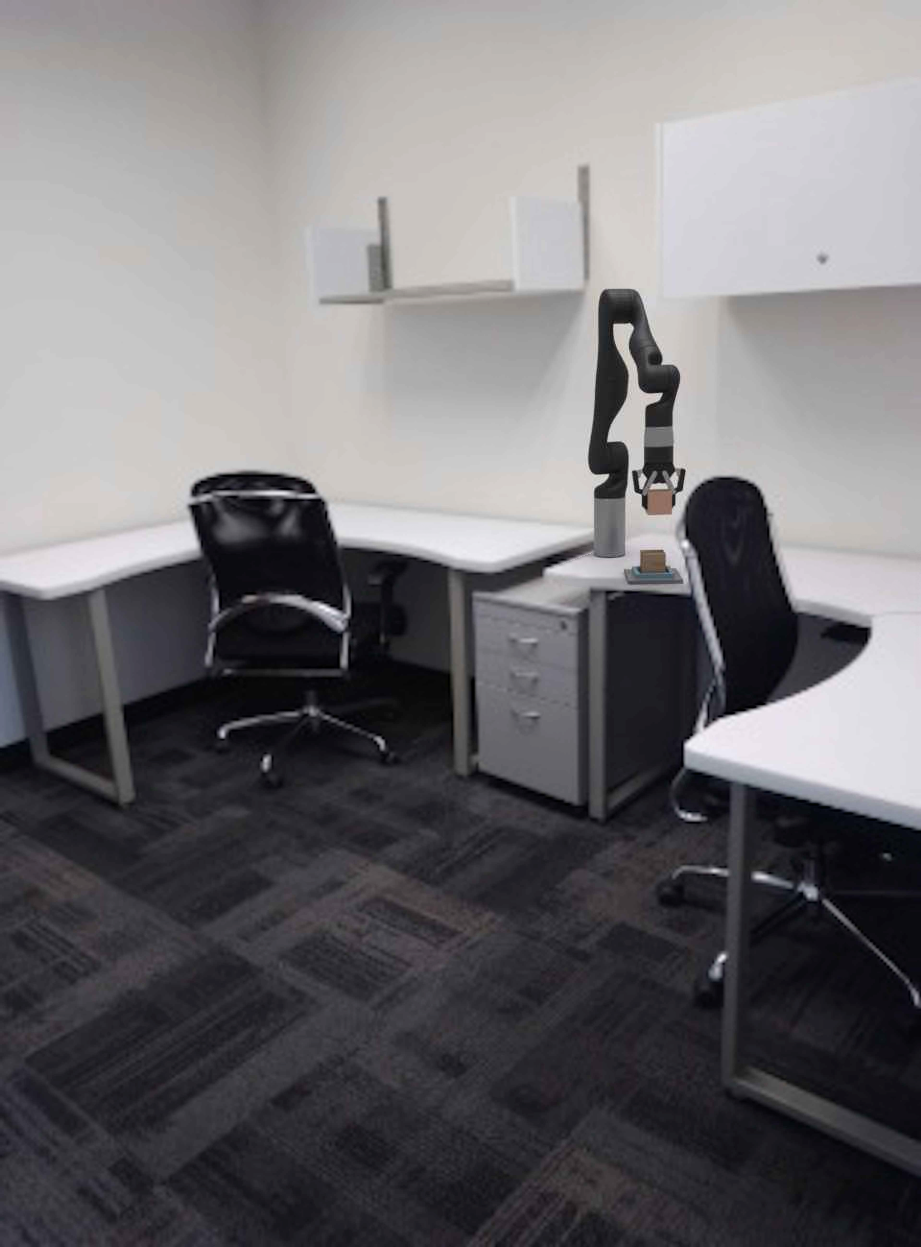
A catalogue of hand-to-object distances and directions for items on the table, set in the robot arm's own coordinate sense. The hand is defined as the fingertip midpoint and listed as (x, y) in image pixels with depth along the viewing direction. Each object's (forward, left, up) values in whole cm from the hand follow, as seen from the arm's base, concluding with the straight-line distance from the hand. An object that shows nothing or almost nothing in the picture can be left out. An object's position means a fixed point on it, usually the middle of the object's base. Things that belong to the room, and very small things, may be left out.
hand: (658, 508), depth 256 cm
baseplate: (+2, -2, -18) cm, 18 cm away
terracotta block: (0, 0, -1) cm, 1 cm away
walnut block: (+2, -2, -17) cm, 17 cm away
